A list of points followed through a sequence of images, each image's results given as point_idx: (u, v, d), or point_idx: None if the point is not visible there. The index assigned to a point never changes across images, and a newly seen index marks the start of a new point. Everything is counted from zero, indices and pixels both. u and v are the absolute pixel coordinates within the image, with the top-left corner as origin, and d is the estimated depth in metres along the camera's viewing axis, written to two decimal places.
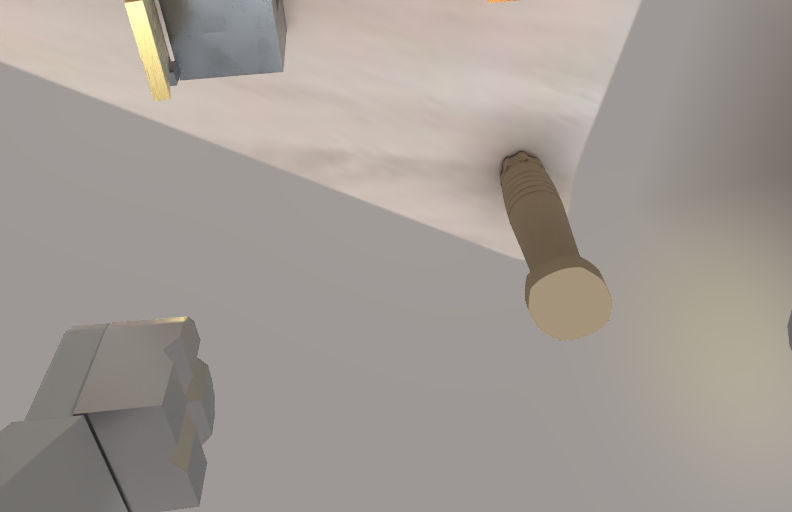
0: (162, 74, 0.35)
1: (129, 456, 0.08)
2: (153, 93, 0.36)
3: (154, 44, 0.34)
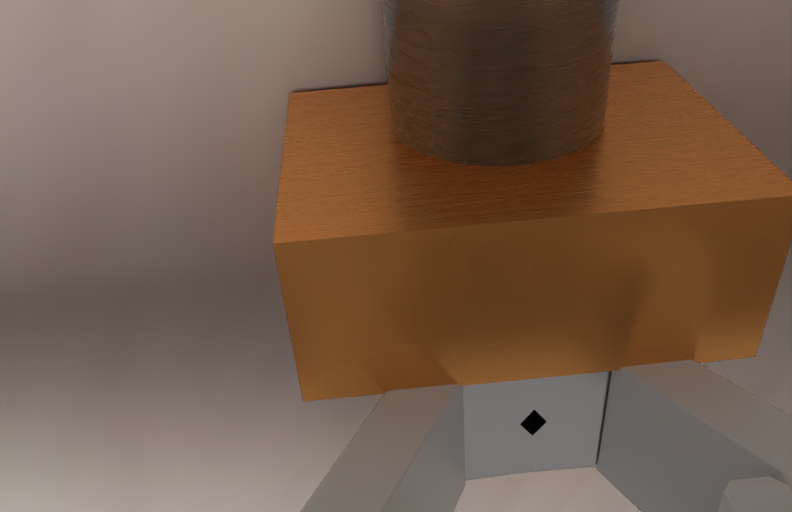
0: None
1: (485, 419, 0.08)
2: None
3: None
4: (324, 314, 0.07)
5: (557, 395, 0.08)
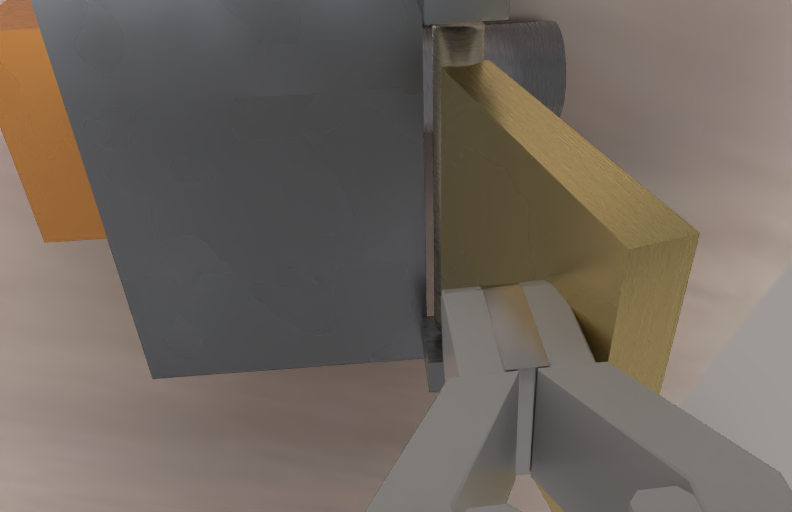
0: (614, 349, 0.08)
1: (538, 414, 0.08)
2: (685, 267, 0.07)
3: None
4: (31, 48, 0.14)
5: None
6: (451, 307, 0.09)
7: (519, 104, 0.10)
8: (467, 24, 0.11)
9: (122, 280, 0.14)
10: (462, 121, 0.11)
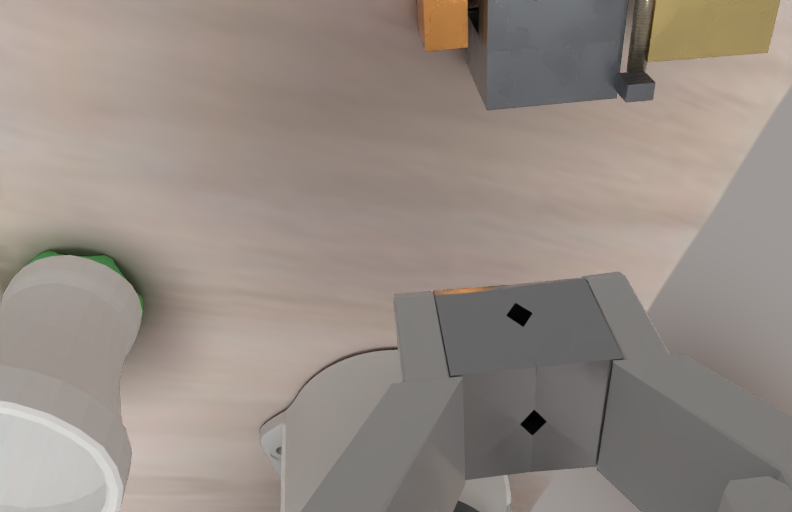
0: None
1: (485, 419, 0.08)
2: None
3: (777, 1, 0.30)
4: None
5: (557, 395, 0.08)
6: (518, 300, 0.09)
7: None
8: None
9: (487, 52, 0.31)
10: None
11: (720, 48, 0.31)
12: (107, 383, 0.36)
